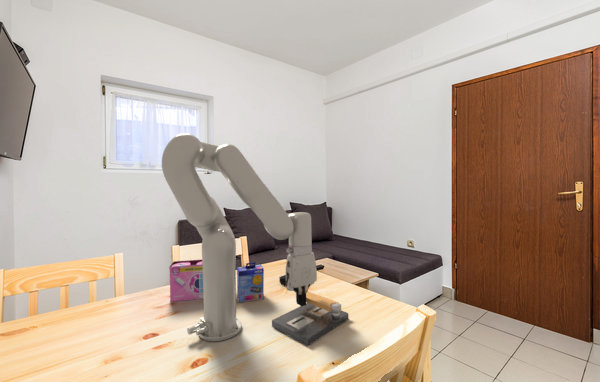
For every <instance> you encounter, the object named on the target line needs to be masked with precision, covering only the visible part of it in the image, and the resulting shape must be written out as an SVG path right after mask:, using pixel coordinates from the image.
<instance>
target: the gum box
mask: <svg viewBox="0 0 600 382" xmlns="http://www.w3.org/2000/svg"><path fill="white" fill-rule="evenodd" d="M168 268H169V286H170V287H169V295H170V296H169V297H170V298H169V302H179V301H180V302H183V301H191V300H193V299H194V300H201V299H203V264H202V259H193V260H191V259H190V260H189V259H188V260H174V261H173V262H172V263H171V264H170V265H169V267H168Z"/></svg>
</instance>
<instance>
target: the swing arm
mask: <svg viewBox="0 0 600 382" xmlns="http://www.w3.org/2000/svg"><path fill="white" fill-rule="evenodd" d="M306 303H309V304H311V305H314V306H316V307H319V308H321V309H324V310H326V311H329V312H334V313H339V312H341V311H342V304H341V303H339V302H338V301H336V300H334V299H333V300H332V299H331V298H328V297H325V296H322V295H319V294H316V293H313V292H310V291H308V292H307V293H306Z"/></svg>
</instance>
